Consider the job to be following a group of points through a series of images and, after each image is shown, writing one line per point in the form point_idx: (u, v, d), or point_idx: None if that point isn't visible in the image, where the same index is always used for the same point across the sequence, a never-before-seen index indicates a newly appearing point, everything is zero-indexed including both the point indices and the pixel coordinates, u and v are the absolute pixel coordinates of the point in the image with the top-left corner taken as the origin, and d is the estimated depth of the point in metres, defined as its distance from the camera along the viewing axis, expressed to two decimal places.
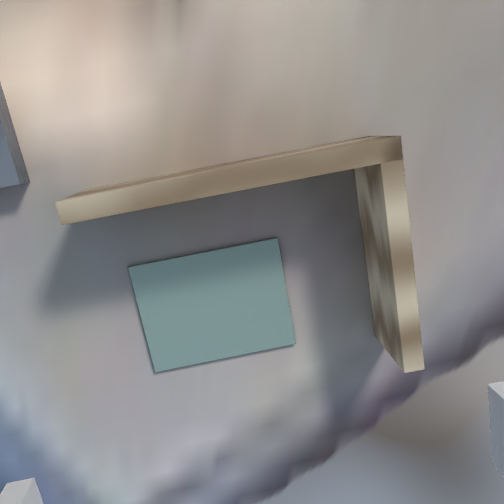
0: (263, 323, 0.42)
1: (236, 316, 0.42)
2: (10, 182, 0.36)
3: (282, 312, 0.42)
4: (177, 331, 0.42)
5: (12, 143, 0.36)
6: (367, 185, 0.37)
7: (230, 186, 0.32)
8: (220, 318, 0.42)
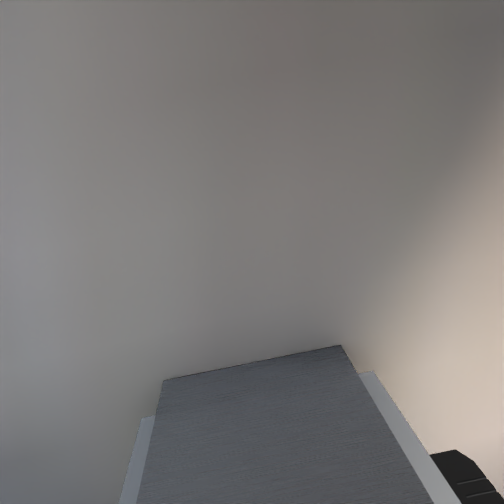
0: None
1: None
2: None
3: None
4: None
5: None
6: None
7: None
8: None
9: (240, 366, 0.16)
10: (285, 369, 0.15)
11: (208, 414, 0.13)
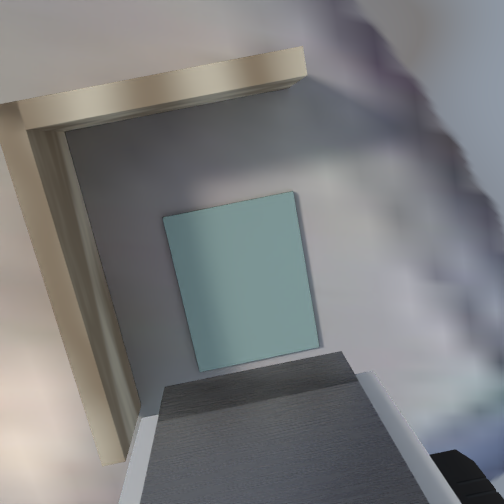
0: (265, 231, 0.36)
1: (256, 261, 0.37)
2: None
3: (252, 209, 0.36)
4: (272, 324, 0.38)
5: None
6: (78, 124, 0.30)
7: (70, 303, 0.29)
8: (258, 279, 0.37)
9: (241, 372, 0.16)
10: (285, 376, 0.15)
11: (209, 421, 0.13)
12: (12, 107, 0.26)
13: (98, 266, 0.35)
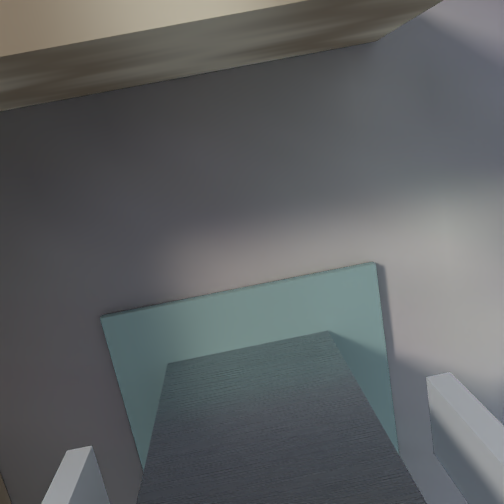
0: None
1: None
2: None
3: (290, 299, 0.17)
4: None
5: None
6: None
7: None
8: None
9: (237, 349, 0.17)
10: (277, 351, 0.16)
11: (208, 390, 0.15)
12: None
13: None
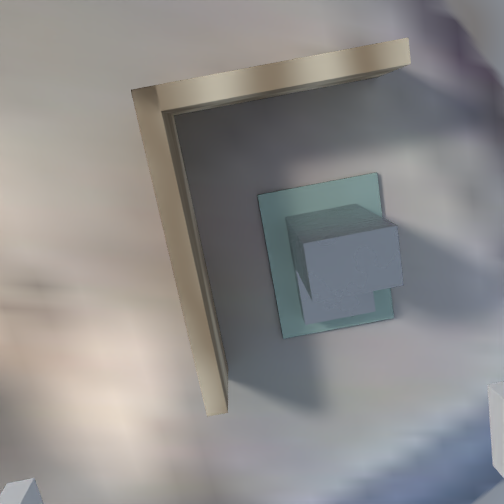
0: None
1: None
2: (367, 309, 0.39)
3: (339, 188, 0.39)
4: None
5: None
6: (195, 108, 0.34)
7: (189, 266, 0.33)
8: None
9: (315, 211, 0.39)
10: (334, 209, 0.38)
11: (308, 218, 0.37)
12: (151, 90, 0.30)
13: (199, 238, 0.39)
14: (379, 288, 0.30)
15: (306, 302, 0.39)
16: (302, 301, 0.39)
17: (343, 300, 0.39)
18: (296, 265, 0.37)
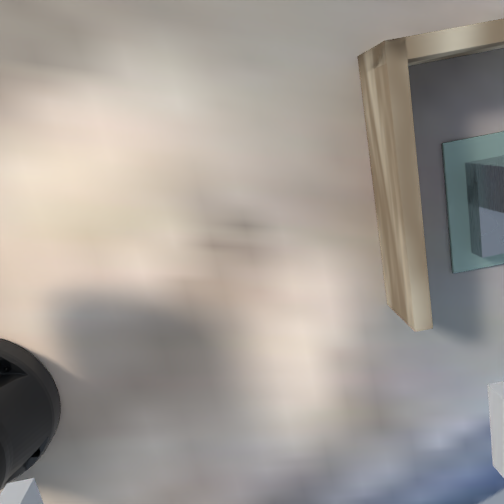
0: None
1: None
2: None
3: None
4: None
5: None
6: (412, 62, 0.39)
7: (415, 196, 0.38)
8: None
9: None
10: None
11: (495, 160, 0.42)
12: (401, 41, 0.35)
13: None
14: None
15: (484, 236, 0.45)
16: (481, 236, 0.44)
17: None
18: (484, 202, 0.43)
